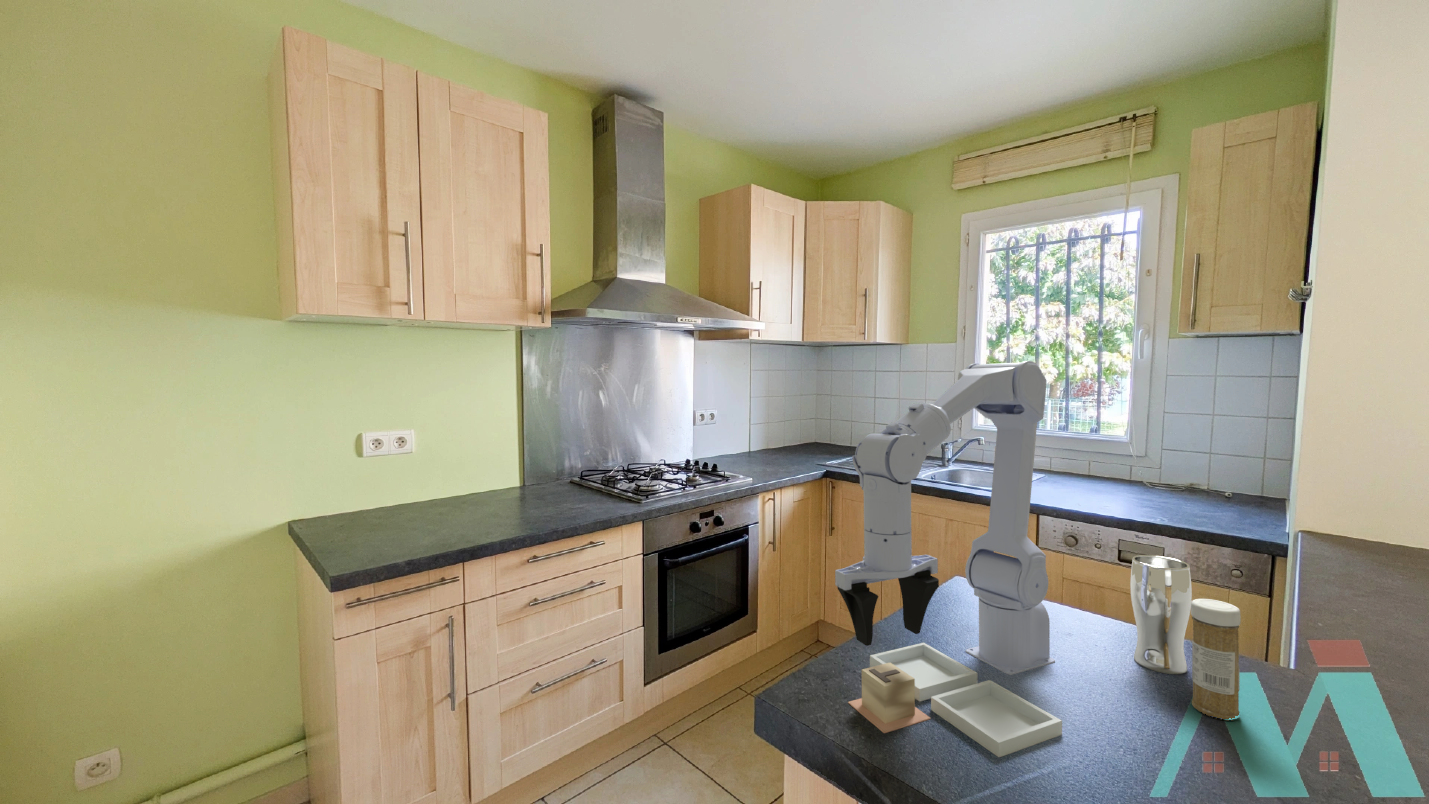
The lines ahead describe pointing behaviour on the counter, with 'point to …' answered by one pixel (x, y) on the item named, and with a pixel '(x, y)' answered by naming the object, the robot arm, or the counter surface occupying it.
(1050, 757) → the counter surface
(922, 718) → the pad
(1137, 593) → the beer glass
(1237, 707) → the sprinkles bottle
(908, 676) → the letter cube
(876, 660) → the bin near arm
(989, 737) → the bin near camera
